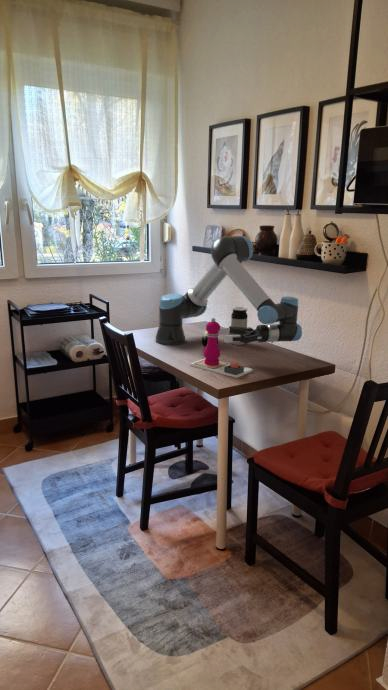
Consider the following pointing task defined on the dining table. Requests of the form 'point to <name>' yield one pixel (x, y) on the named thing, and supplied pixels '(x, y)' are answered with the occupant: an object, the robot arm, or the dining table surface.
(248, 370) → the picture board
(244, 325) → the travel mug
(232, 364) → the button
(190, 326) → the dining table surface
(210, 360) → the pepper mill
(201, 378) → the dining table surface
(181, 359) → the dining table surface
